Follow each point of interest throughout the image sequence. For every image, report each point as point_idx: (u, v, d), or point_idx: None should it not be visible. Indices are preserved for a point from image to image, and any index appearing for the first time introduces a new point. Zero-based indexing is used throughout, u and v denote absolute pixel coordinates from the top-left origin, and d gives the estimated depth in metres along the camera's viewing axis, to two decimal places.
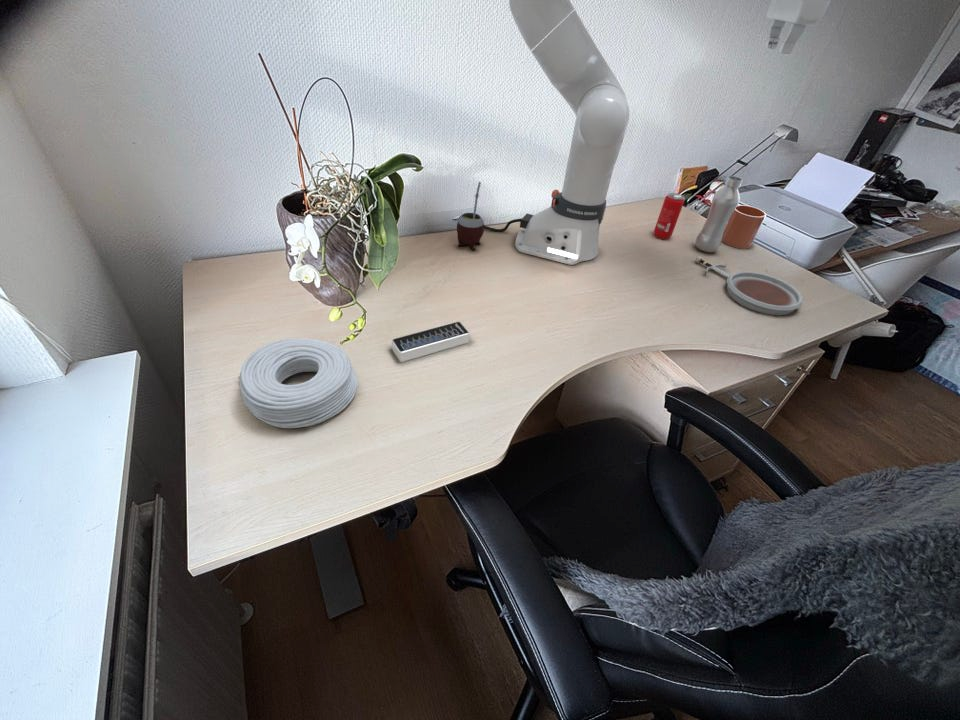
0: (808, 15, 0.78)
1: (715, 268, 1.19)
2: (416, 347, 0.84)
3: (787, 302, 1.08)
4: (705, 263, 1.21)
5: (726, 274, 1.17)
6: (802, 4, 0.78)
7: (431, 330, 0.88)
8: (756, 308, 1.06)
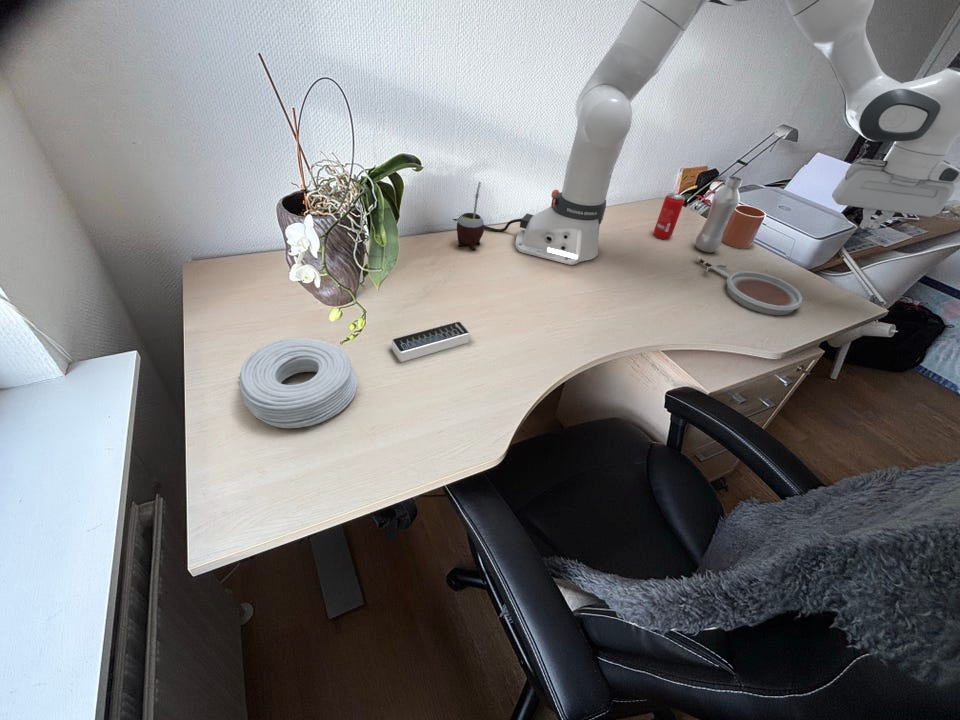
0: None
1: (715, 268, 1.19)
2: (416, 347, 0.84)
3: (787, 302, 1.08)
4: (705, 263, 1.21)
5: (726, 274, 1.17)
6: (943, 205, 0.94)
7: (431, 330, 0.88)
8: (756, 308, 1.06)
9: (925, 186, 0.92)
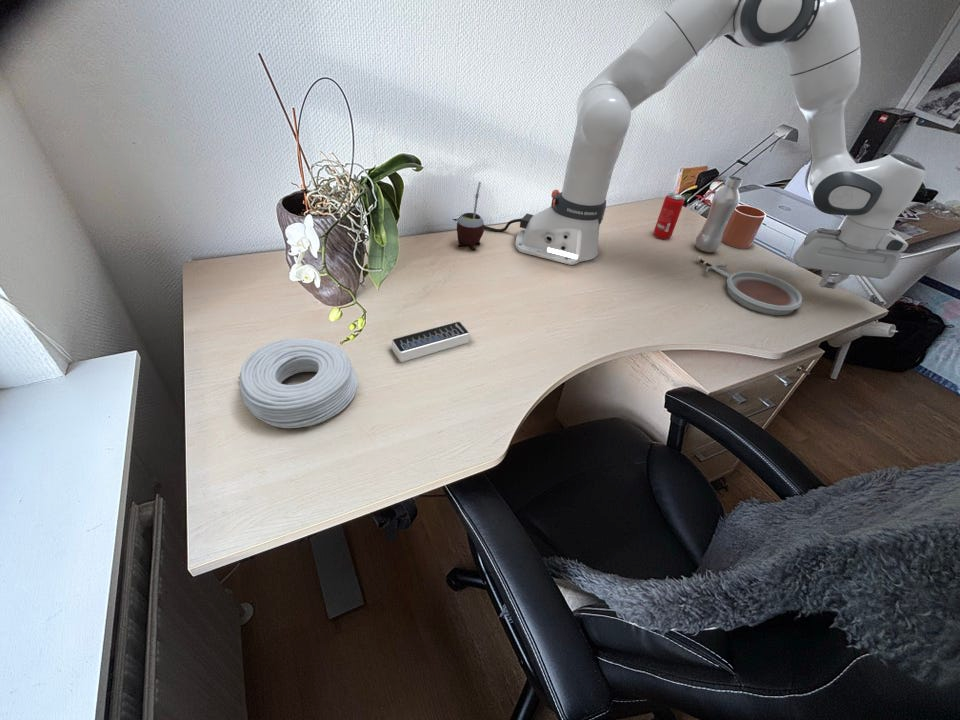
0: None
1: (715, 268, 1.19)
2: (416, 347, 0.84)
3: (787, 302, 1.08)
4: (705, 263, 1.21)
5: (726, 274, 1.17)
6: (892, 270, 1.04)
7: (431, 330, 0.88)
8: (756, 308, 1.06)
9: (874, 253, 1.02)
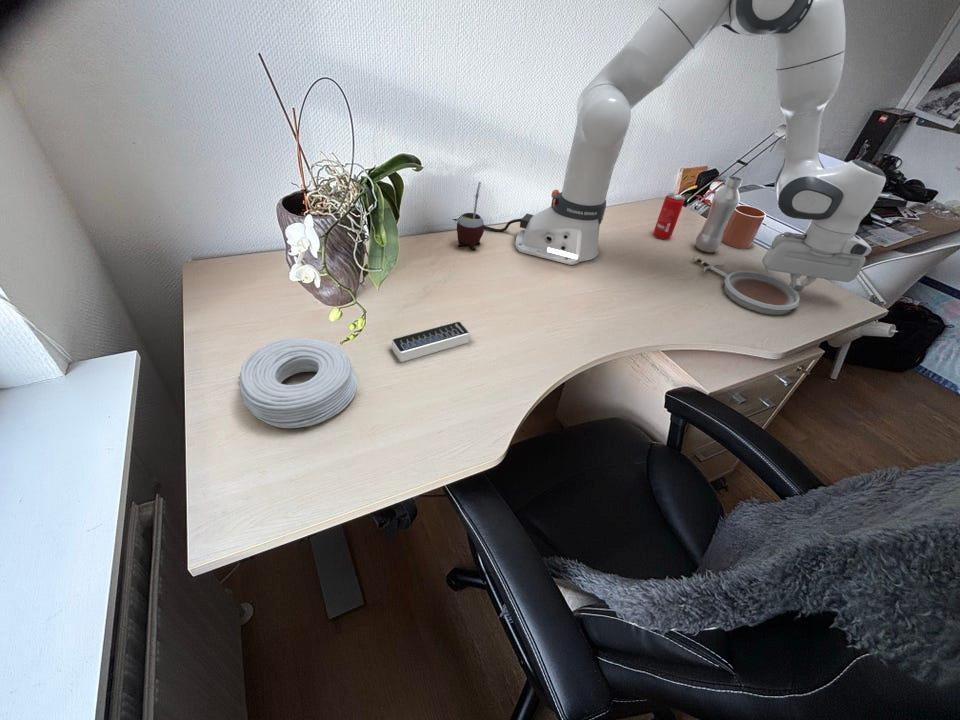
0: None
1: (713, 268, 1.19)
2: (416, 347, 0.84)
3: (784, 302, 1.08)
4: (703, 263, 1.21)
5: (723, 273, 1.17)
6: (857, 273, 1.06)
7: (431, 330, 0.88)
8: (753, 308, 1.06)
9: (839, 257, 1.04)
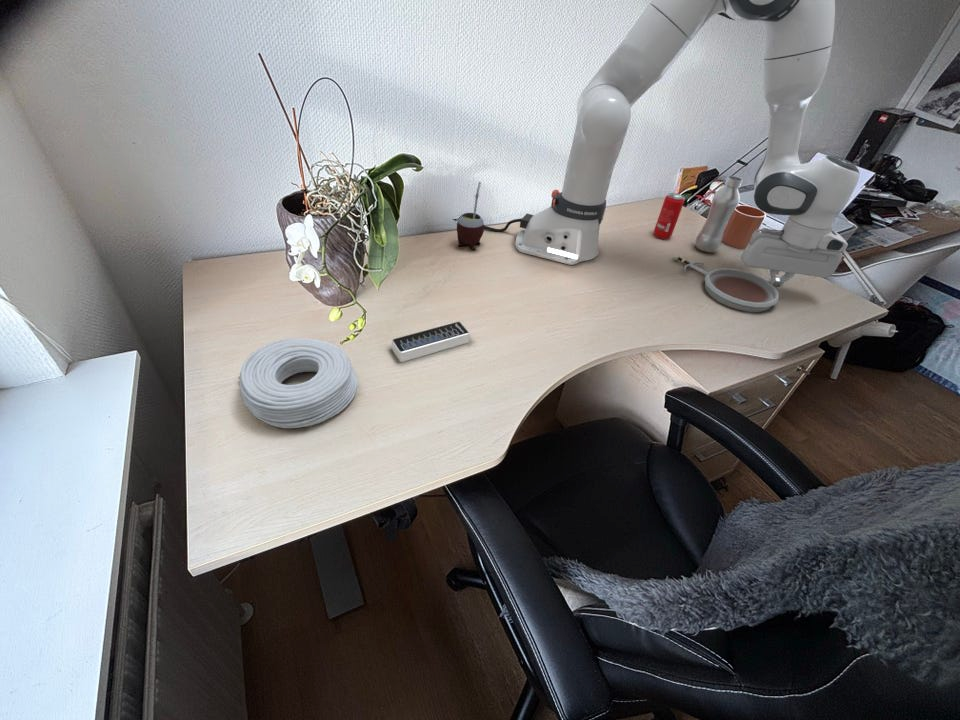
0: None
1: (693, 266, 1.19)
2: (416, 347, 0.84)
3: (764, 299, 1.08)
4: (683, 261, 1.21)
5: (704, 271, 1.17)
6: (835, 269, 1.06)
7: (431, 330, 0.88)
8: (734, 305, 1.06)
9: (817, 253, 1.05)
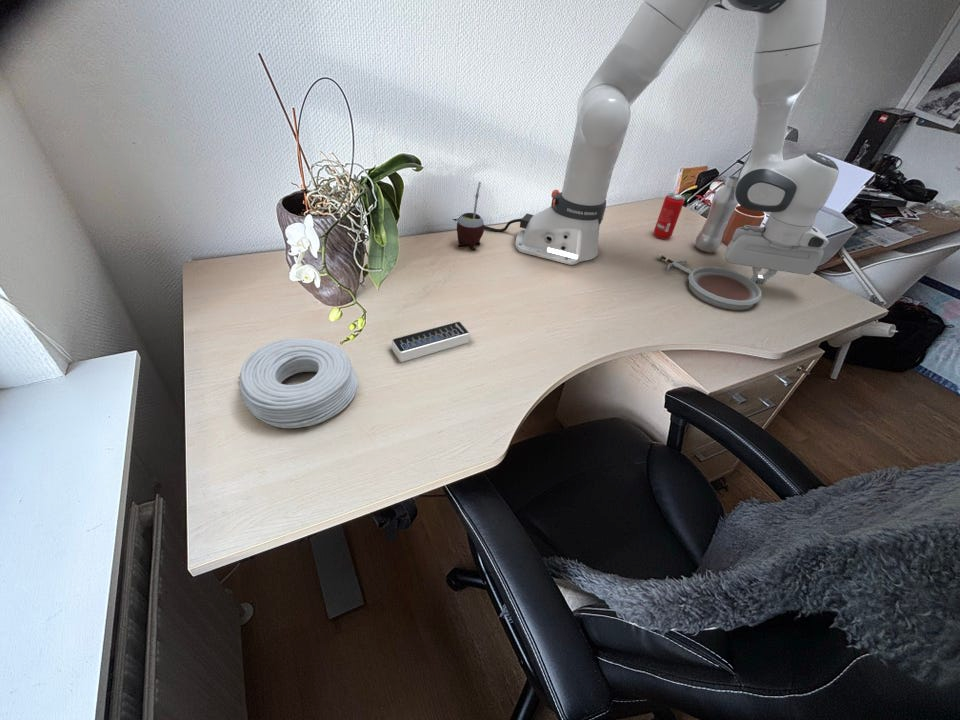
0: None
1: (676, 264, 1.19)
2: (416, 347, 0.84)
3: (747, 296, 1.09)
4: (667, 260, 1.21)
5: (687, 270, 1.17)
6: (816, 266, 1.06)
7: (431, 330, 0.88)
8: (718, 304, 1.06)
9: (798, 250, 1.05)
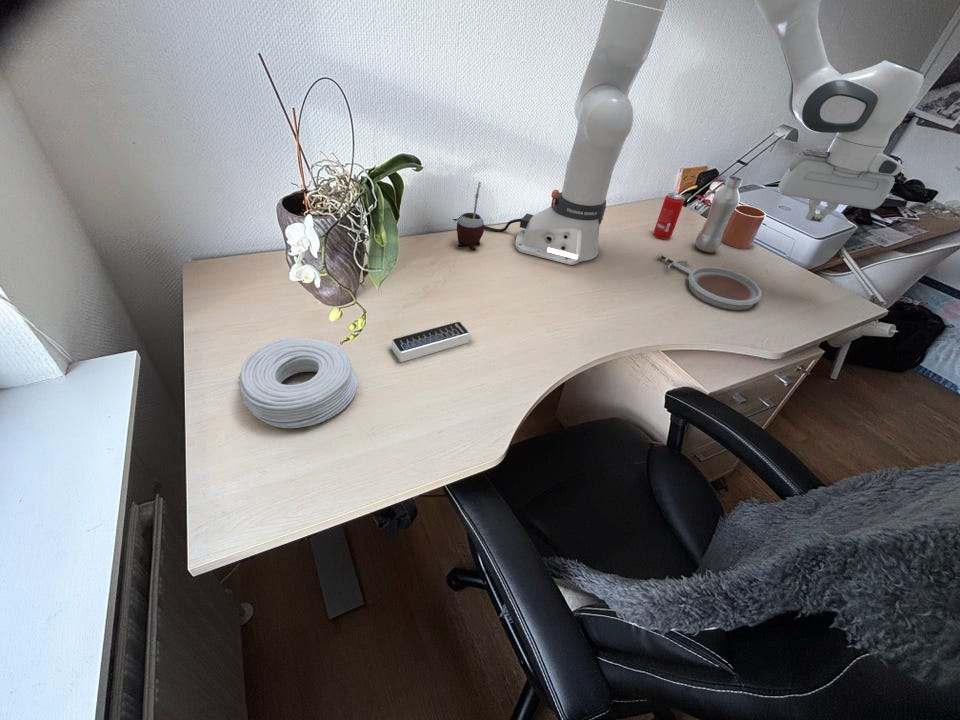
0: None
1: (676, 264, 1.19)
2: (416, 347, 0.84)
3: (747, 296, 1.09)
4: (666, 260, 1.21)
5: (687, 270, 1.17)
6: (884, 198, 0.95)
7: (431, 330, 0.88)
8: (717, 304, 1.06)
9: (866, 178, 0.93)
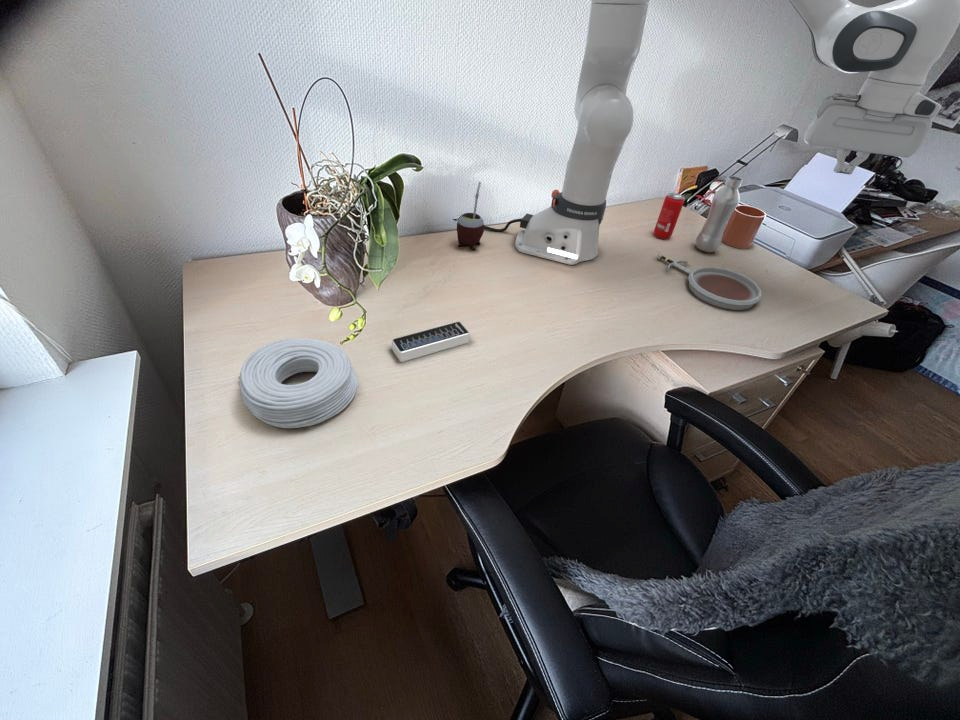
0: None
1: (676, 264, 1.19)
2: (416, 347, 0.84)
3: (747, 296, 1.09)
4: (666, 260, 1.21)
5: (687, 270, 1.17)
6: (920, 144, 0.88)
7: (431, 330, 0.88)
8: (717, 304, 1.06)
9: (900, 122, 0.87)
